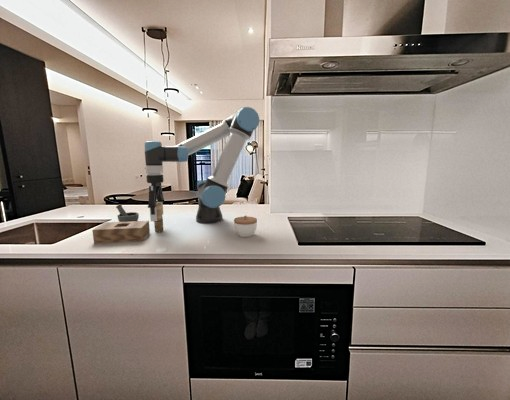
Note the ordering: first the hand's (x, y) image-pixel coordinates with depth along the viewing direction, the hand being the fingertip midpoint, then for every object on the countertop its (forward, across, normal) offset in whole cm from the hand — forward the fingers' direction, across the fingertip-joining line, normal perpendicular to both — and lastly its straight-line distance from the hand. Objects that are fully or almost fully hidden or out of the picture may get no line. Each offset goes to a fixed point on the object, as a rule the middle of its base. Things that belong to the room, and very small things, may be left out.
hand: (157, 217), depth 125 cm
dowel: (+7, 0, 0) cm, 7 cm away
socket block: (+7, +8, -14) cm, 17 cm away
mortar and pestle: (+7, -10, -18) cm, 22 cm away
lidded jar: (+7, +13, +42) cm, 45 cm away
